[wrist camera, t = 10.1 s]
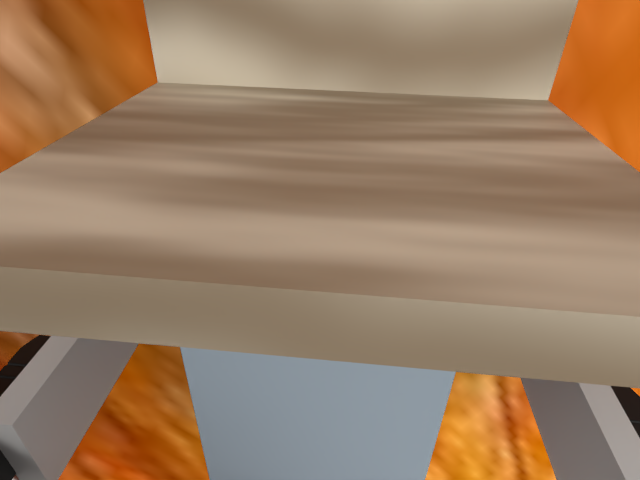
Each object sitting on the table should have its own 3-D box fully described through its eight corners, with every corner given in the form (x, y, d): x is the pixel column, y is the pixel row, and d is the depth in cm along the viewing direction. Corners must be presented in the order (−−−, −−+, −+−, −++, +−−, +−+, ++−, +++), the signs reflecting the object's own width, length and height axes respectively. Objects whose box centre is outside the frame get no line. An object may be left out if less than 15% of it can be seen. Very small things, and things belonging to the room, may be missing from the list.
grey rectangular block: (263, 169, 17) (177, 336, 9) (418, 178, 16) (458, 361, 9) (269, 288, 20) (210, 482, 13) (399, 298, 20) (417, 505, 12)
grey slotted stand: (146, -61, 17) (-395, -111, 5) (579, -51, 15) (1242, -85, 4) (200, 266, 25) (51, 535, 13) (481, 288, 24) (587, 601, 12)
